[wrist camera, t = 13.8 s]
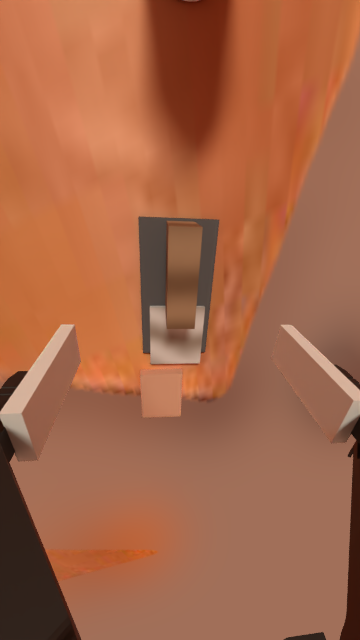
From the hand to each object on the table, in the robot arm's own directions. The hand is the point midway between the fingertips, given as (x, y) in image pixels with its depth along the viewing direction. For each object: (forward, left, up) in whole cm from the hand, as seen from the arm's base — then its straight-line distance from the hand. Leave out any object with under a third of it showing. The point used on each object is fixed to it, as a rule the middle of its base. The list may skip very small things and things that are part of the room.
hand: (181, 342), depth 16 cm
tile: (-1, -18, -19) cm, 26 cm away
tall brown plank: (+1, -4, -19) cm, 19 cm away
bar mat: (+1, -4, -20) cm, 20 cm away
